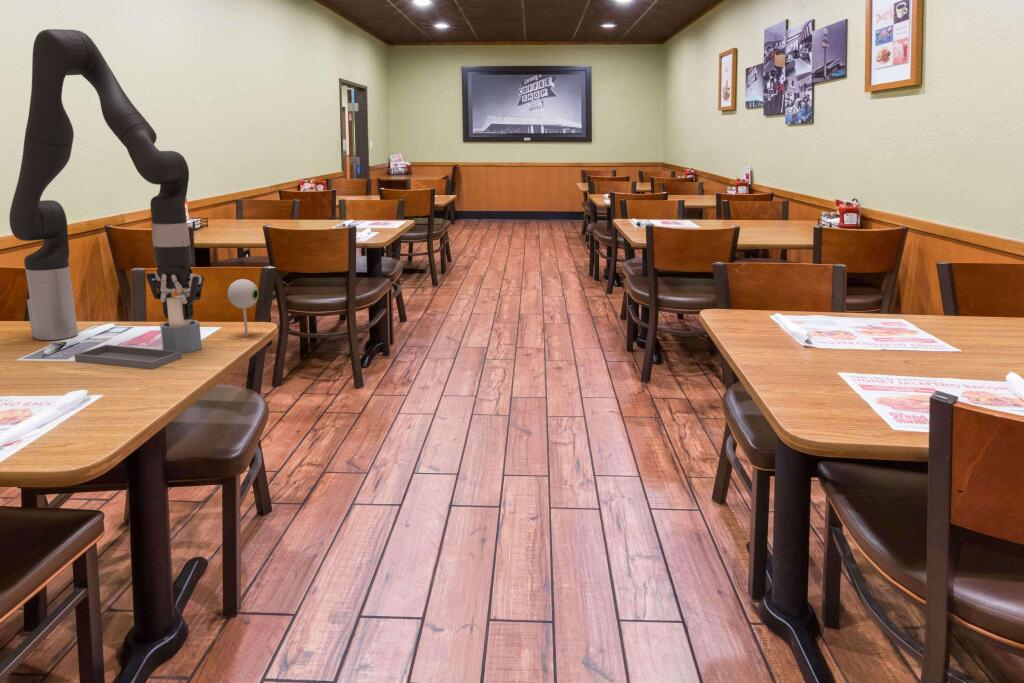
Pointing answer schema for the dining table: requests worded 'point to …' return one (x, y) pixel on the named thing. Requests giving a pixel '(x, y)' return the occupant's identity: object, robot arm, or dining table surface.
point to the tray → (128, 356)
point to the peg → (176, 312)
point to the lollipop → (243, 296)
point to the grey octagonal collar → (181, 337)
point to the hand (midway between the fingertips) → (179, 318)
